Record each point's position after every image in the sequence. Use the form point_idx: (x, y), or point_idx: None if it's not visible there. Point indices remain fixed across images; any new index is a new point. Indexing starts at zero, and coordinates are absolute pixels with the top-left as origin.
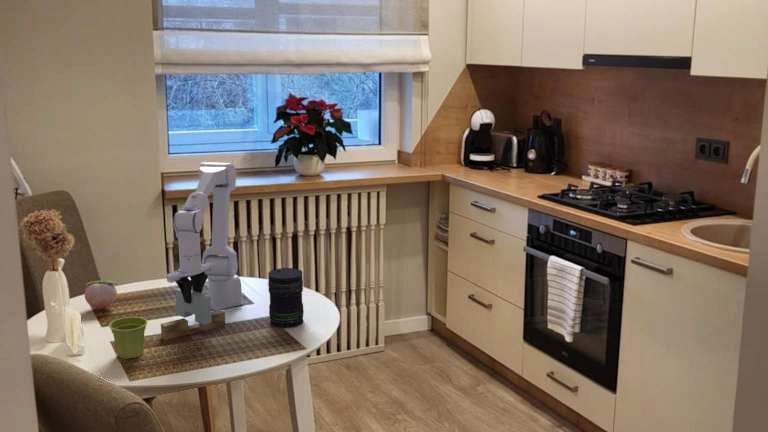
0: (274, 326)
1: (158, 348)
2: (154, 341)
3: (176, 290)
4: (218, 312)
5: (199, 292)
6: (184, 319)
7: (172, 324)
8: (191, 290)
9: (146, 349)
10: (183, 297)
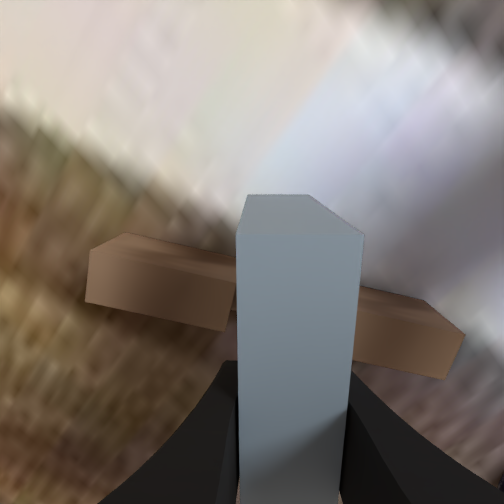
0: (500, 489)
1: (54, 321)
2: (78, 245)
3: (237, 251)
4: (421, 357)
5: (342, 496)
6: (224, 301)
7: (132, 311)
8: (333, 406)
9: (10, 293)
10: (212, 385)
